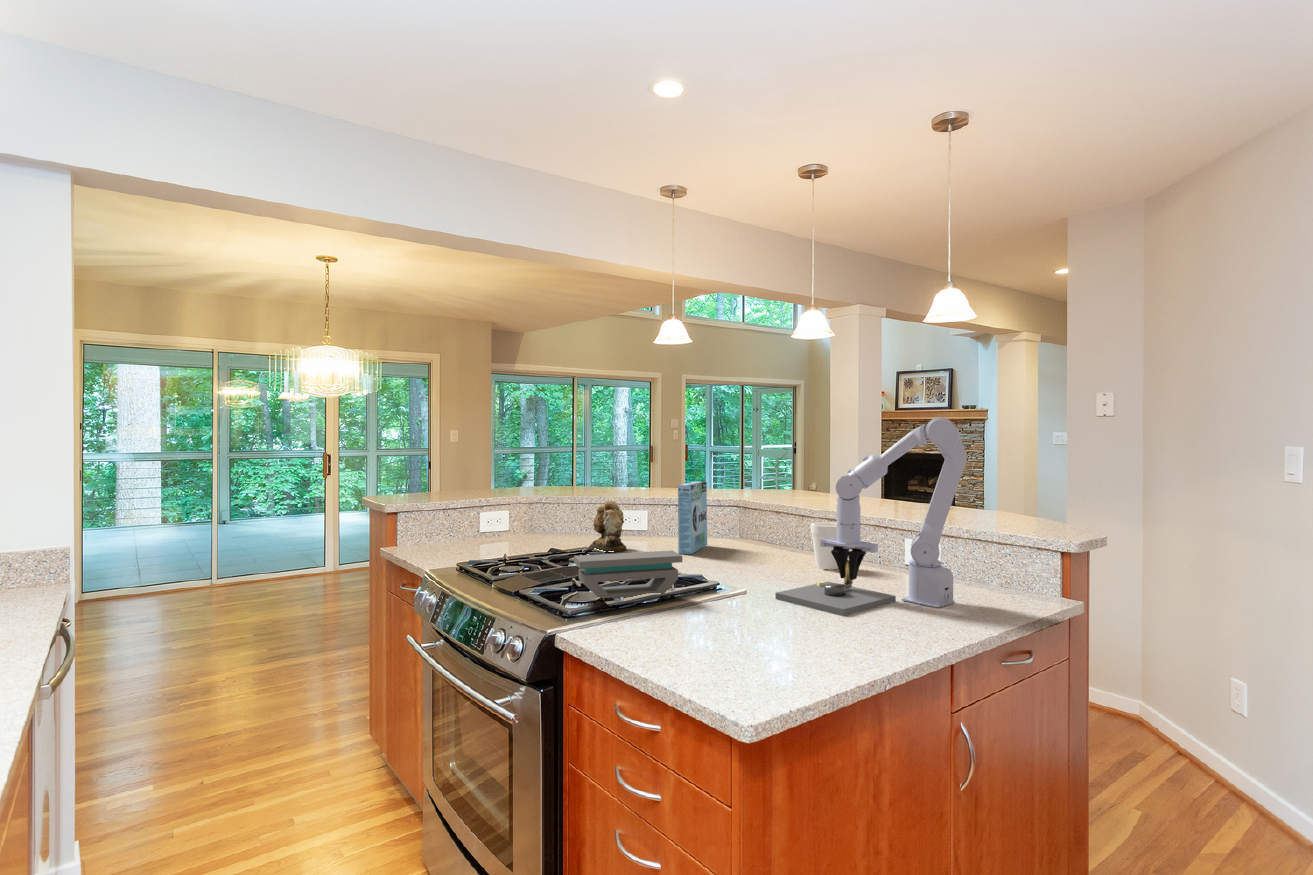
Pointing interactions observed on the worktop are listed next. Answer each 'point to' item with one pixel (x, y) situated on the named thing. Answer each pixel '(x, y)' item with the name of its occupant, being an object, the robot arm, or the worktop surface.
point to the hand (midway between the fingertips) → (848, 578)
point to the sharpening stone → (628, 572)
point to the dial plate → (835, 599)
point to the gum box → (692, 517)
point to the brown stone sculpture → (609, 527)
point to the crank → (840, 589)
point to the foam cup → (824, 554)
